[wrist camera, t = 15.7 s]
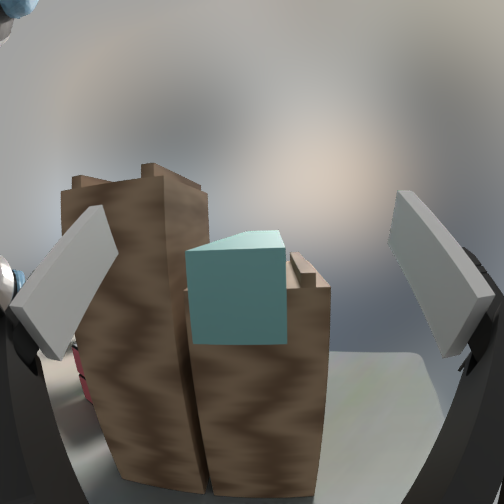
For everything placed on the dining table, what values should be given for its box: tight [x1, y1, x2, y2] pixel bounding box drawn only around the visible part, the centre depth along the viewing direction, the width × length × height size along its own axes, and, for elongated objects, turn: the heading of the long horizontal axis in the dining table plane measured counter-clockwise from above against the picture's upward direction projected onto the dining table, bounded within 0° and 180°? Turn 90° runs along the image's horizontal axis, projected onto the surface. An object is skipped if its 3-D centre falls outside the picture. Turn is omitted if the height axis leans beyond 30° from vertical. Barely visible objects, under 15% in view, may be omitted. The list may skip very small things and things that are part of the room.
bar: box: [185, 230, 287, 345], centre depth 22 cm, size 24×4×4 cm, turn 176°
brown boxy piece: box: [61, 163, 331, 498], centre depth 28 cm, size 20×14×31 cm
